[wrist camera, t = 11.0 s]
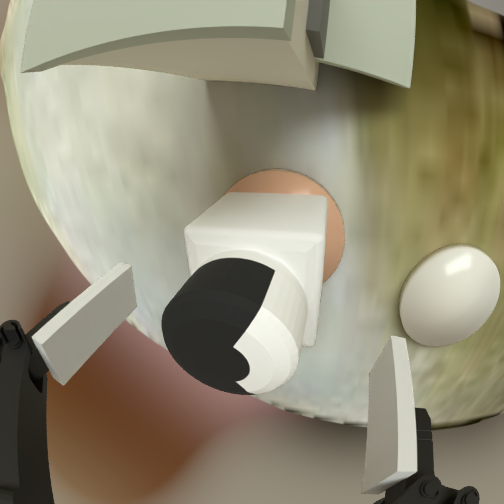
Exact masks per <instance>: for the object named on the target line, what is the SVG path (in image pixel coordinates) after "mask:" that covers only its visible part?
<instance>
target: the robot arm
mask: <svg viewBox="0 0 504 504" xmlns="http://www.w3.org/2000/svg"><path fill="white" fill-rule="evenodd" d="M136 307H137V302H136V296H135V289H134V281H133V274H132V266H131V265H128V264H125V263H122V262H120V263H119V264H118V265H116V266H115V267H114V268H112V269H111V270H110V271H109V272H107V273H106V274H105V275H104V276H102V277H101V278H100V279H99V280H97V281H96V282H95V283H94V284H92V285H91V286H90V287H89V288H87V289H86V290H85V291H84V292H83V293H82V294H80V295H79V296H78V297H77V298H75V299H74V300H73V301H72V302H69V301H68V302H65V303H63V304H61V305H59V306H58V307H57V308H56V309H55V310H53V311H52V313H50V314H49V315H47V317H46V318H44V319H43V320H42V321H41V322H39V323H38V324H37V325H36V326H35V327H34V328H33V329H31V330H30V331H29V332H28V333H27V334H26V335H25V334H24V332H23V329H22V328H21V325H20V323H19V322H18V321H16V320H9V321H6V322H4V323H3V324H2V325H1V326H0V504H54V499H53V493H52V487H51V480H50V472H49V462H48V449H47V429H46V400H47V374H46V373H47V372H48V371H50V373H51V375H52V376H53V378H54V379H55V380H57V381H58V382H60V383H61V384H62V385H65V384H66V383H67V381H68V380H69V379H70V378H71V377H72V376H73V375H74V373H75V372H76V371H77V370H78V369H79V368H80V367H81V366H82V365H83V364H84V362H85V361H86V360H87V359H88V358H89V357H90V356H91V355H92V353H94V352H95V351H96V349H97V348H98V347H99V346H100V345H101V344H102V343H103V342H104V341H105V340H106V338H108V336H110V334H111V333H112V332H113V331H114V330H115V329H116V328H117V327H118V326H119V325H120V324H121V323H122V322H123V321H124V320H125V319H126V318H127V317H128V316H129V315H130V313H131V312H132V311H133V310H134V309H135V308H136ZM431 430H432V429H431V419H430V417H429V415H428V413H427V411H426V409H424V408H415V406H414V396H413V387H412V378H411V371H410V364H409V357H408V351H407V345H406V339H405V338H402V337H397V336H392V335H391V336H390V338H389V340H388V342H387V344H386V345H385V347H384V349H383V351H382V353H381V354H380V356H379V358H378V359H377V361H376V363H375V364H374V366H373V368H372V369H371V371H370V373H369V410H368V430H367V445H366V456H365V466H364V475H363V483H362V490H361V494H380V493H382V492H383V491H385V490H386V493H385V498H382V499H380V500H378V501H376V502H375V503H374V504H479V493H478V491H477V489H475V488H474V487H471V486H467V487H464V488H462V489H461V490H456V489H452V488H448V487H445V486H443V485H441V482H440V480H439V479H438V478H437V477H435V475H434V463H433V462H434V461H433V442H432V432H431Z"/></svg>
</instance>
